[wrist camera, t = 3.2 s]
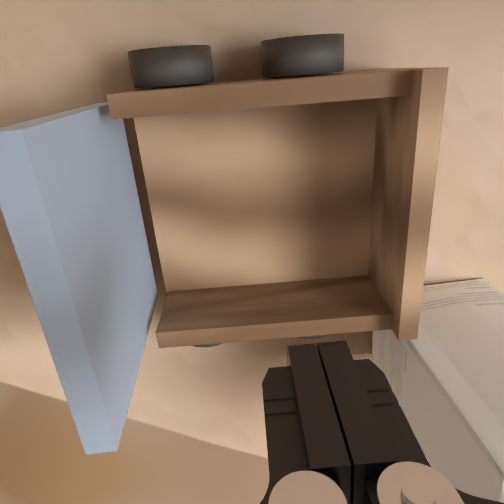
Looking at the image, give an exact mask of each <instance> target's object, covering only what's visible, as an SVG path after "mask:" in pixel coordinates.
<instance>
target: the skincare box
mask: <svg viewBox="0 0 504 504" xmlns="http://www.w3.org/2000/svg"><path fill="white" fill-rule="evenodd" d="M372 357H373V360H374V362H375V364H376V366H377V367H378V368H379V369H381V370H382V371H383V372H384V374H385V376H386V378H387V380H388V382H389V384H390V386H391V388H392V392H394V394H395V396H396V398H397V400H398V402H399V406H401V408H402V410H403V412H404V414H405V416H406V418H407V420H408V422H409V424H410V426H411V428H412V431H413V433H414V435H415V437H416V439H417V441H418V443H419V445H420V446H421V448H422V450H423V452H424V454H425V455H426V457H427V459H428V461H429V463H430V465H431V467H432V468H433V469H435V470H436V471H438V472H439V473H441V474H442V475H443V476H444V477H446V478H447V479H448V480H449V481H450V482H451V484H452V485H453V486H454V488H456V489H458V490H460V491H462V492H464V493H467V494H469V495H472V496H476V497H480V498H484V499H489V500H493V501H498V502H503V503H504V293H503V292H502V291H500V290H499V289H498V288H496V287H495V286H494V285H492V284H491V283H490V282H488V281H487V280H486V279H484V278H482V279H473V280H466V281H457V282H449V283H441V284H433V285H425V286H423V293H422V302H421V310H420V319H419V328H418V337H417V339H410V340H398V339H397V338H396V336H395V334H394V332H393V331H392V329H389V330H377V331H372Z"/></svg>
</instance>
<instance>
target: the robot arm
mask: <svg viewBox="0 0 504 504" xmlns="http://www.w3.org/2000/svg"><path fill="white" fill-rule="evenodd" d="M287 362H288V366H286V367H275V368H269V369H268V372H267V374H266V376H265V378H264V380H263V382H262V388H263V400H264V412H265V425H266V437H267V449H268V461H269V472H270V473H269V474H270V480H269V486H268V489H267V492H266V494H265V496H264V499H263V500H262V501H261V503H260V504H504V503H503V502H498V501H493V500H489V499H484V498H480V497H476V496H472V495H469V494H467V493H464V492H462V491H460V490H458V489H456V488H454V486H453V485H452V484H451V482H450V481H449V480H448V479H447V478H446V477H444V476H443V475H442V474H441V473H439V472H438V471H436V470H435V469H433V468H432V467H431V466H430V464H429V462H428V461H427V459H426V457H425V455H424V453H423V451H422V449H421V447H420V445H419V443H418V441H417V439H416V437H415V435H414V433H413V431H412V428H411V426H410V424H409V422H408V420H407V418H406V416H405V414H404V412H403V410H402V408H401V406H399V402H398V400H397V398H396V396H395V394H394V392H392V388H391V386H390V384H389V382H388V380H387V378H386V376H385V374H384V372H383V371H382V370H381V369H379V368H378V367H377V366H376V365H375V364H374V363H373V362H371V361H370V360H369V359H364V360H353V358H352V355H351V353H350V350H349V348H348V345H347V343H346V342H345V341H336V342H325V343H317V344H316V345H315V344H304V345H292V346H287Z"/></svg>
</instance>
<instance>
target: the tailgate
mask: <svg viewBox="0 0 504 504" xmlns="http://www.w3.org/2000/svg"><path fill="white" fill-rule="evenodd" d="M0 208H1V211H2V214H3V216H4V219H5V222H6V225H7V228H8V231H9V234H10V237H11V240H12V242H13V245H14V248H15V251H16V254H17V257H18V260H19V263H20V266H21V268H22V271H23V274H24V277H25V280H26V283H27V286H28V289H29V292H30V294H31V297H32V300H33V303H34V306H35V309H36V312H37V315H38V318H39V320H40V323H41V326H42V329H43V332H44V335H45V338H46V341H47V344H48V346H49V349H50V352H51V355H52V358H53V361H54V364H55V367H56V370H57V372H58V375H59V378H60V381H61V384H62V387H63V390H64V393H65V396H66V398H67V401H68V404H69V407H70V410H71V413H72V416H73V419H74V422H75V424H76V427H77V430H78V433H79V436H80V439H81V442H82V444H83V447H84V450H85V453H86V454H95V453H103V452H111V451H117V450H118V446H119V443H120V439H121V435H122V431H123V427H124V423H125V419H126V416H127V412H128V408H129V404H130V400H131V396H132V392H133V388H134V385H135V381H136V377H137V373H138V369H139V365H140V361H141V358H142V354H143V350H144V346H145V342H146V338H147V334H148V330H149V327H150V323H151V319H152V315H153V311H154V307H155V303H156V300H157V296H158V294H157V289H156V284H155V279H154V274H153V269H152V263H151V258H150V253H149V248H148V243H147V238H146V233H145V228H144V223H143V218H142V213H141V208H140V202H139V197H138V192H137V187H136V182H135V177H134V172H133V167H132V162H131V157H130V152H129V147H128V141H127V136H126V131H125V126H124V121H123V119H114V120H111V116H110V111H109V106H108V102H101V103H94V104H90V105H87V106H83V107H79V108H75V109H71V110H67V111H63V112H59V113H55V114H51V115H47V116H43V117H39V118H35V119H31V120H28V121H24V122H20V123H16V124H12V125H8V126H4V127H0Z"/></svg>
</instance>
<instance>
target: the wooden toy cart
mask: <svg viewBox="0 0 504 504" xmlns="http://www.w3.org/2000/svg"><path fill="white" fill-rule="evenodd" d="M261 45H262V62H263V77H277V78H265V79H253V80H241V81H228V82H216V83H206V82H214V76H213V66H212V57H211V47H210V46H208V45H189V46H171V47H158V48H148V49H140V50H133V51H129V52H128V57H129V62H130V68H131V73H132V79H133V84H134V88H143V89H133V90H128V91H124V92H118V93H113V94H107V95H106V96H107V101H108V106H109V111H110V116H111V120H114V119H126V118H133V119H134V124H135V129H136V135H137V140H138V145H139V151H140V156H141V161H142V167H143V172H144V178H145V183H146V188H147V194H148V199H149V204H150V210H151V215H152V220H153V226H154V231H155V237H156V242H157V247H158V253H159V258H160V263H161V269H162V274H163V279H164V285H165V290H166V296H167V299H166V302H165V305H164V308H163V312H162V315H161V318H160V321H159V324H158V327H157V331H156V336H157V341H158V346H159V348H165V347H177V346H190V345H191V346H195V347H211V346H216V345H220V344H222V343H227V342H240V341H252V340H265V339H277V338H290V337H298V338H304V339H313V338H320V337H324V336H326V335H329V334H339V333H352V332H364V331H377V330H389V329H392V331H393V332H394V334H395V336H396V338H397V339H398V340H410V339H417V337H418V328H419V319H420V310H421V302H422V293H423V284H424V275H425V267H426V258H427V249H428V241H429V232H430V223H431V214H432V206H433V197H434V188H435V180H436V171H437V162H438V153H439V145H440V136H441V127H442V118H443V110H444V101H445V92H446V84H447V75H448V68H388V69H376V70H363V71H351V72H341V71H343V65H344V34H318V35H305V36H294V37H285V38H277V39H271V40H265V41H262V42H261ZM331 72H339V73H331ZM321 73H327V74H321ZM309 74H314V75H309ZM296 75H302V76H296ZM282 76H290V77H282ZM196 83H204V84H196ZM185 84H192V85H185ZM174 85H179V86H174ZM161 86H167V87H161ZM148 87H155V88H148Z"/></svg>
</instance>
